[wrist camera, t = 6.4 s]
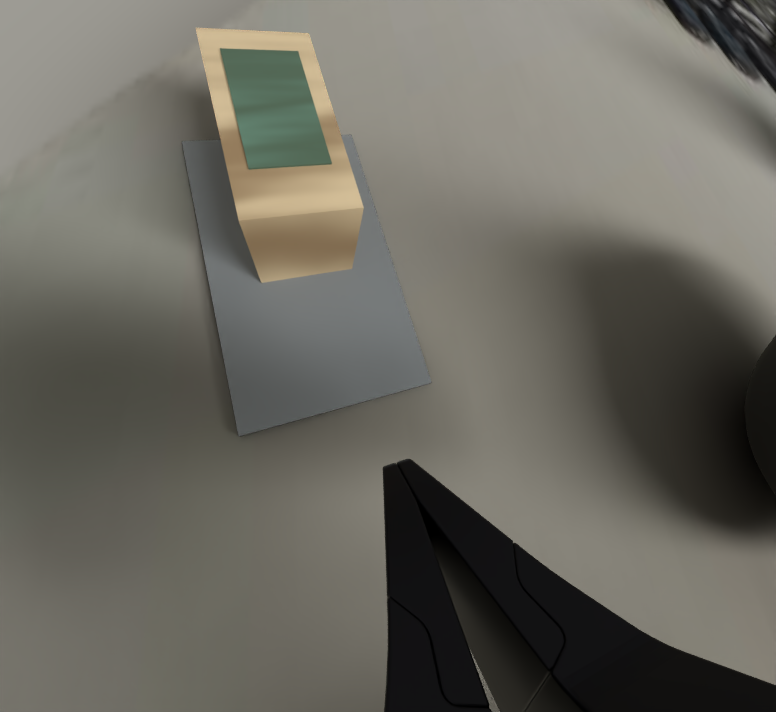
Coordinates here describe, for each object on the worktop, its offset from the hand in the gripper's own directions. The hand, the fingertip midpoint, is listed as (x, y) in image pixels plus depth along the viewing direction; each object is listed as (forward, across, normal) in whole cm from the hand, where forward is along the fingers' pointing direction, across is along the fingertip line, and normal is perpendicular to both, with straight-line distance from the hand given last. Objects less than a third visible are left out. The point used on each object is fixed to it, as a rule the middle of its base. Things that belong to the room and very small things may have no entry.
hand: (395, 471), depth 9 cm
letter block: (+10, +1, -4) cm, 11 cm away
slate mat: (+13, +1, -3) cm, 13 cm away
